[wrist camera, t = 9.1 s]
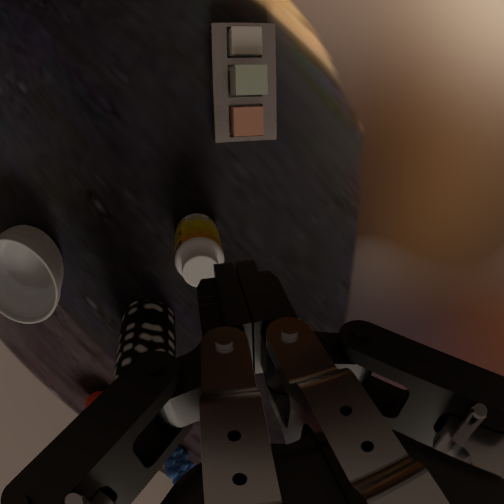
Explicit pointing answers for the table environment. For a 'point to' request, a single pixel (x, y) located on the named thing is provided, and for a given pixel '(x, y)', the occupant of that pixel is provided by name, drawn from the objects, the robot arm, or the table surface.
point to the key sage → (248, 80)
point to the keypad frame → (222, 82)
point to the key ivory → (244, 41)
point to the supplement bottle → (197, 248)
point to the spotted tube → (145, 332)
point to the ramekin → (29, 274)
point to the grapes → (178, 464)
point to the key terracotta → (246, 120)
